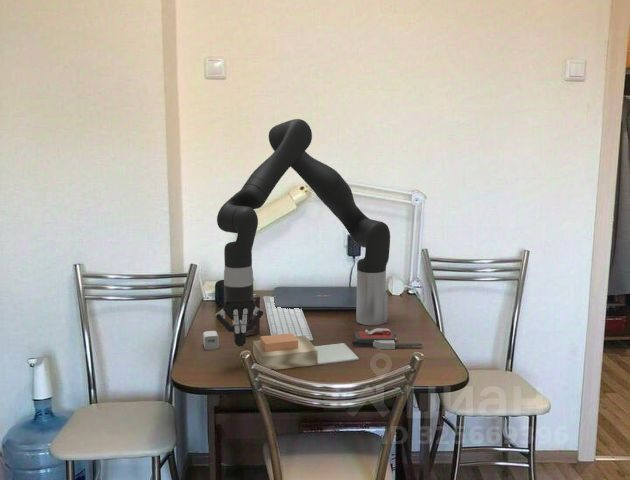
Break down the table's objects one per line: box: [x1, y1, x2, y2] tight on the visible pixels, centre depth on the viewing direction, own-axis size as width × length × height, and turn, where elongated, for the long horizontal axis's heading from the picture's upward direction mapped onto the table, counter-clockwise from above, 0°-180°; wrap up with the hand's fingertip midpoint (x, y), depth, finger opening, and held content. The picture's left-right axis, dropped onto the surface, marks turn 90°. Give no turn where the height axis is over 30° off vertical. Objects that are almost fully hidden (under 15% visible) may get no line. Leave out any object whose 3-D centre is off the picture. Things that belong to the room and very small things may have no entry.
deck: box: [252, 336, 318, 371], centre depth 164 cm, size 15×12×4 cm
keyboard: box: [262, 295, 314, 342], centre depth 198 cm, size 44×12×2 cm, turn 8°
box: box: [239, 292, 261, 337], centre depth 183 cm, size 6×4×12 cm
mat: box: [313, 342, 360, 365], centre depth 168 cm, size 12×12×1 cm
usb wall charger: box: [202, 330, 220, 351], centre depth 174 cm, size 4×7×4 cm, turn 15°
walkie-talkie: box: [351, 327, 423, 350], centre depth 175 cm, size 9×4×20 cm
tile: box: [259, 333, 298, 352], centre depth 163 cm, size 9×6×2 cm, turn 107°
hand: (239, 345), depth 159 cm, fingers closed
